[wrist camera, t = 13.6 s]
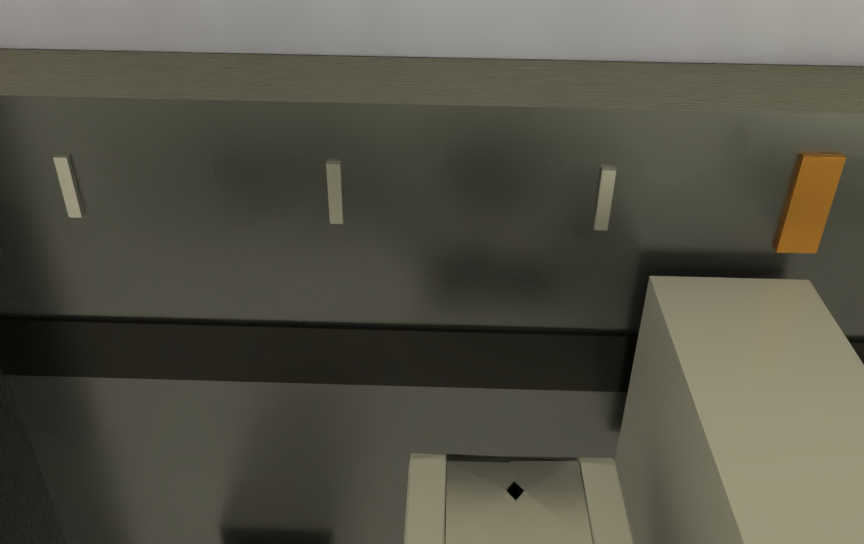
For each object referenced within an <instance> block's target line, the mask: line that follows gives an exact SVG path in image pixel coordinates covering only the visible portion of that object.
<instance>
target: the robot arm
mask: <svg viewBox="0 0 864 544" xmlns="http://www.w3.org/2000/svg"><path fill="white" fill-rule="evenodd" d="M445 483H446V495H445ZM404 544H634V541H633V536H632V532H631V527H630V523H629V518H628V514H627V509H626V505H625V501H624V496H623V492H622V487H621V483H620V478H619V474H618V469H617V465H616V462H615V461H614V460H613V458H588V457H578V458H577V459H576V458H575V457H517V456H508V457H501V456H480V455H459V454H447V458H446V455H444V454H424V453H411V457H410V461H409V473H408V487H407V502H406V516H405V531H404Z"/></svg>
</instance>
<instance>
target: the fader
mask: <svg viewBox="0 0 864 544" xmlns="http://www.w3.org/2000/svg"><path fill="white" fill-rule="evenodd" d="M615 462H616V465H617V469H618V474H619V478H620V483H621V487H622V492H623V496H624V501H625V505H626V509H627V514H628V518H629V523H630V527H631V532H632V536H633V541H634V544H864V364H863V363H862V361H861V360H860V358H859V357H858V355H857V354H856V352H855V350H854V349H853V347H852V346H851V344H850V343H849V341H848V340H847V338H846V337H845V335H844V333H843V332H842V330H841V329H840V327H839V326H838V324H837V323H836V321H835V319H834V318H833V316H832V315H831V313H830V312H829V310H828V309H827V307H826V306H825V304H824V302H823V301H822V299H821V298H820V296H819V295H818V293H817V292H816V290H815V288H814V287H813V285H812V284H811V282H810V281H809V280H795V279H756V278H717V277H677V276H649V281H648V287H647V292H646V297H645V303H644V308H643V313H642V319H641V324H640V329H639V335H638V340H637V345H636V351H635V356H634V361H633V367H632V372H631V377H630V383H629V388H628V393H627V399H626V404H625V409H624V415H623V420H622V425H621V431H620V436H619V441H618V446H617V452H616V457H615Z"/></svg>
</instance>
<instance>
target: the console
mask: <svg viewBox="0 0 864 544" xmlns="http://www.w3.org/2000/svg"><path fill="white" fill-rule="evenodd" d="M649 276H677V277H717V278H756V279H795V280H809V281H810V282H811V284H812V285H813V287H814V288H815V290H816V292H817V293H818V295H819V296H820V298H821V299H822V301H823V302H824V304H825V306H826V307H827V309H828V310H829V312H830V313H831V315H832V316H833V318H834V319H835V321H836V323H837V324H838V326H839V327H840V329H841V330H842V332H843V333H844V335H845V337H846V338H847V340H848V341H849V343H850V344H851V346H852V347H853V349H854V350H855V352H856V354H857V355H858V357H859V358H860V360H861V361H862V363H863V364H864V67H841V66H793V65H744V64H696V63H648V62H600V61H552V60H504V59H456V58H408V57H360V56H312V55H264V54H216V53H168V52H120V51H71V50H23V49H0V544H404V531H405V516H406V502H407V487H408V473H409V461H410V457H411V453H424V454H444V455H446V458H447V454H459V455H480V456H501V457H508V456H517V457H575V458H576V459H577V458H578V457H588V458H613V460H614V461H615V457H616V452H617V446H618V441H619V436H620V431H621V425H622V420H623V415H624V409H625V404H626V399H627V393H628V388H629V383H630V377H631V372H632V367H633V361H634V356H635V351H636V345H637V340H638V335H639V329H640V324H641V319H642V313H643V308H644V303H645V297H646V292H647V287H648V281H649ZM445 495H446V483H445Z"/></svg>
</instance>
